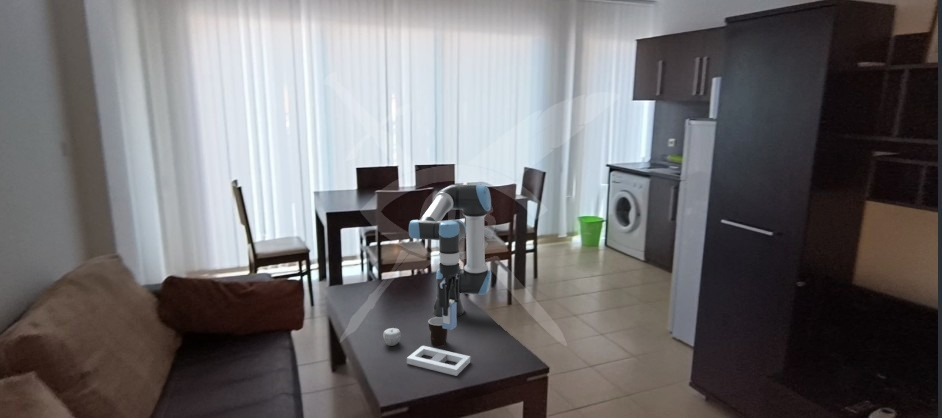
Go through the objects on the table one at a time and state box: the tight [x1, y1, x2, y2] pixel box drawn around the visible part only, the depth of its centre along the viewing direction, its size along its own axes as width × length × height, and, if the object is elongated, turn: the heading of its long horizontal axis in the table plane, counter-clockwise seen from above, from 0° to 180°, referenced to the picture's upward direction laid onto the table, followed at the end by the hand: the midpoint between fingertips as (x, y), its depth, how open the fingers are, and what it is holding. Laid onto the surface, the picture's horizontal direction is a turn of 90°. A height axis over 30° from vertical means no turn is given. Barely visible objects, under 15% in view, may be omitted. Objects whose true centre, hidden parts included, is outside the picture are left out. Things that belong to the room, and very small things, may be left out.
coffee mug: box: [427, 316, 449, 347], centre depth 224 cm, size 12×9×10 cm
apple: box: [382, 327, 402, 347], centre depth 221 cm, size 8×8×7 cm
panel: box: [406, 345, 471, 377], centre depth 206 cm, size 12×22×2 cm, turn 65°
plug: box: [442, 299, 458, 331], centre depth 199 cm, size 4×4×11 cm
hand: (449, 320), depth 200 cm, fingers closed on plug, 4 cm apart
